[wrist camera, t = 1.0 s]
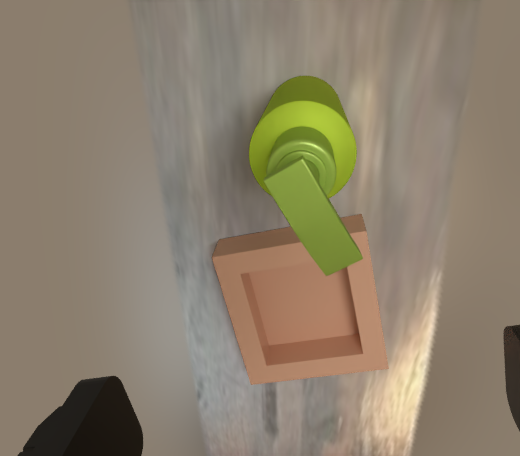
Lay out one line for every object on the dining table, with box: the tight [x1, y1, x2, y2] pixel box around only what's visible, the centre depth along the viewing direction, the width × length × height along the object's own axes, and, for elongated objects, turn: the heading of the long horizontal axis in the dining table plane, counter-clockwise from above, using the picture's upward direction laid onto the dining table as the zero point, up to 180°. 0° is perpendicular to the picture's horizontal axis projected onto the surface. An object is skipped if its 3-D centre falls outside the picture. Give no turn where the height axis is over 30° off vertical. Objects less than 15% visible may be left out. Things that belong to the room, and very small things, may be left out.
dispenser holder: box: [212, 214, 389, 385], centre depth 42 cm, size 14×13×4 cm
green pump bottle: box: [249, 76, 363, 276], centre depth 28 cm, size 6×7×20 cm
